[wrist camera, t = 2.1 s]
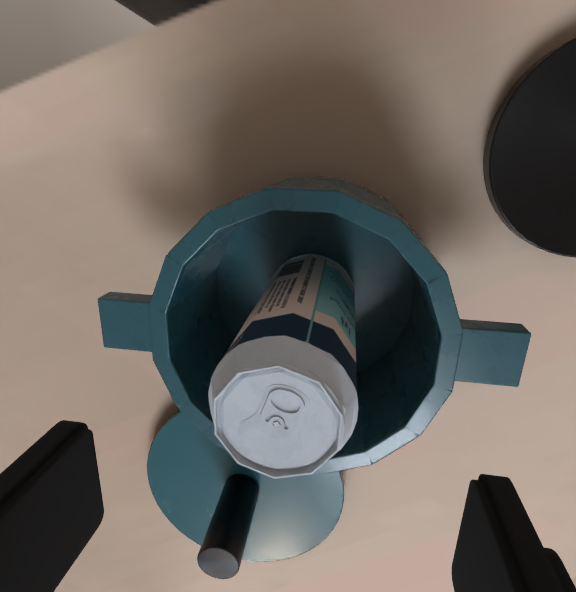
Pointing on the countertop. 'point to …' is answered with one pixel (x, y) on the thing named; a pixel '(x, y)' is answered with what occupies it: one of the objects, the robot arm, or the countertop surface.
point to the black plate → (537, 154)
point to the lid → (237, 501)
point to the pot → (368, 309)
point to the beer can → (291, 373)
